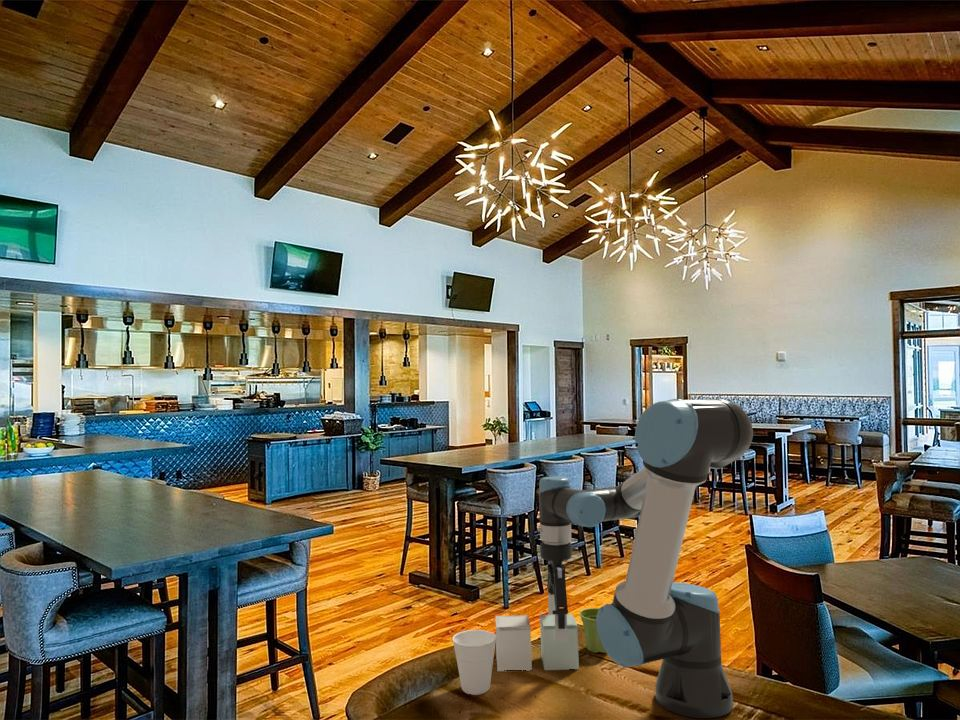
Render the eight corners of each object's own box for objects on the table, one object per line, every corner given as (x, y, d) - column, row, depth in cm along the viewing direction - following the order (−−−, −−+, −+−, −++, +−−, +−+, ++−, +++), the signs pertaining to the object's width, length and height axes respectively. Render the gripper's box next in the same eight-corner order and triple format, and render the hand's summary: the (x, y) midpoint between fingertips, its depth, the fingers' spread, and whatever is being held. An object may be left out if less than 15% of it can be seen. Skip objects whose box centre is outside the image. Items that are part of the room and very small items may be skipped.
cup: (499, 679, 142) (498, 629, 143) (496, 700, 132) (495, 646, 133) (456, 679, 143) (455, 629, 144) (449, 699, 133) (448, 645, 134)
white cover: (531, 670, 147) (530, 626, 147) (497, 671, 147) (496, 627, 147) (529, 656, 155) (527, 615, 155) (496, 657, 155) (495, 615, 155)
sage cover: (578, 669, 147) (577, 625, 148) (544, 670, 147) (543, 626, 147) (573, 655, 155) (572, 614, 155) (541, 656, 155) (540, 614, 155)
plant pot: (596, 639, 165) (595, 605, 166) (626, 649, 158) (624, 613, 159) (572, 648, 159) (571, 613, 160) (601, 659, 152) (600, 622, 153)
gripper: (535, 530, 165) (537, 613, 164) (545, 554, 140) (547, 652, 139) (564, 530, 165) (566, 612, 164) (579, 554, 140) (581, 651, 139)
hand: (557, 631), depth 152 cm, fingers open, 13 cm apart
